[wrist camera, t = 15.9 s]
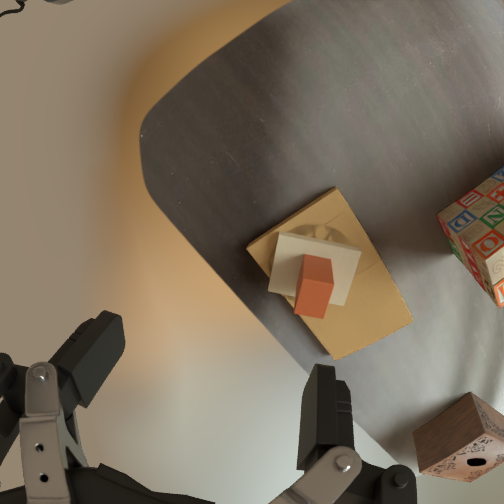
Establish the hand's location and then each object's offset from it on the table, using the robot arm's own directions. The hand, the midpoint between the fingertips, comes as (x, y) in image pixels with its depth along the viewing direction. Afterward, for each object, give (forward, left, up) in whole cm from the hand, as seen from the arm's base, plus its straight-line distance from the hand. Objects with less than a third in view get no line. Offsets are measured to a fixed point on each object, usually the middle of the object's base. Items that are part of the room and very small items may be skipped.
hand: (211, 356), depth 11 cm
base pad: (+9, -8, -24) cm, 27 cm away
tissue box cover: (+50, -37, -24) cm, 67 cm away
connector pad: (+6, -6, -24) cm, 25 cm away
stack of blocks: (+28, +8, -24) cm, 38 cm away
